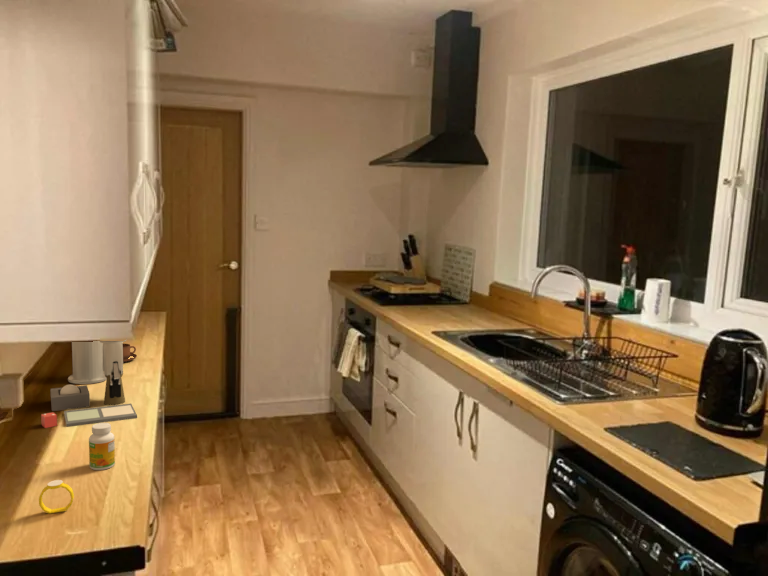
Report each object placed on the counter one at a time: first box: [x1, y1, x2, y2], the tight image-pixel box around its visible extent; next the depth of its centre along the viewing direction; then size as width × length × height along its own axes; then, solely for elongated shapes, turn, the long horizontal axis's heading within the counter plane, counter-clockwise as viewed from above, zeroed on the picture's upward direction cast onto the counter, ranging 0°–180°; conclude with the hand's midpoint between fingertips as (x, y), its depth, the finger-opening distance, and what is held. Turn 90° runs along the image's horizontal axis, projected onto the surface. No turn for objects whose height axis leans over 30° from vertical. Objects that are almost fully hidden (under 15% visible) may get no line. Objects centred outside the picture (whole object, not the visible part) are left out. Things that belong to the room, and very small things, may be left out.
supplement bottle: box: [88, 422, 116, 471], centre depth 147 cm, size 5×5×10 cm
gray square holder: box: [50, 384, 91, 412], centre depth 192 cm, size 10×10×4 cm
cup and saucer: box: [123, 343, 137, 363], centre depth 246 cm, size 12×12×6 cm
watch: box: [38, 479, 75, 515], centre depth 125 cm, size 6×3×6 cm, turn 109°
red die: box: [40, 411, 58, 429], centre depth 173 cm, size 3×3×3 cm
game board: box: [63, 403, 138, 428], centre depth 182 cm, size 12×18×1 cm, turn 119°
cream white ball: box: [60, 383, 80, 395], centre depth 191 cm, size 5×5×5 cm
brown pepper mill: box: [103, 372, 126, 406], centre depth 194 cm, size 6×6×11 cm
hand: (114, 394), depth 195 cm, fingers closed on brown pepper mill, 4 cm apart
